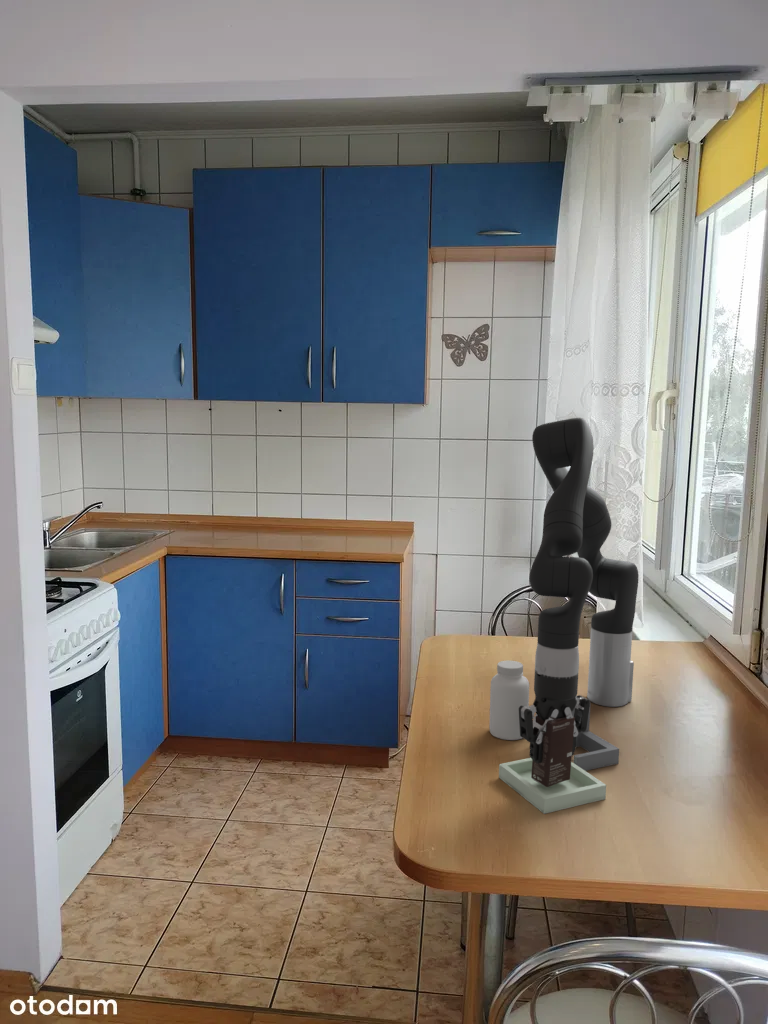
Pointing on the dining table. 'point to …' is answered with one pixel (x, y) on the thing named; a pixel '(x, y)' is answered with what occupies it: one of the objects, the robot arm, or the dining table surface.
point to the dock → (594, 750)
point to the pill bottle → (507, 700)
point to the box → (555, 752)
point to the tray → (552, 787)
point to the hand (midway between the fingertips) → (552, 757)
